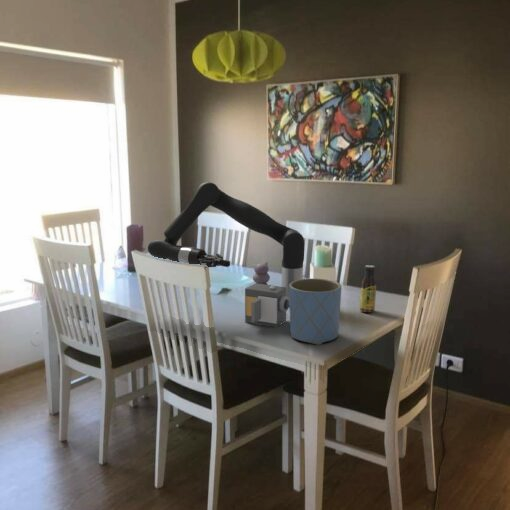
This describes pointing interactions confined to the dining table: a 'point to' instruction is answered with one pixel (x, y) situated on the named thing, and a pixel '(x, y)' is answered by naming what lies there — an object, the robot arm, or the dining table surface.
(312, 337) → the planter
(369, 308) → the sauce bottle
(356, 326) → the dining table surface
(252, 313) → the side door
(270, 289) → the camera housing
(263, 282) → the cat figurine
